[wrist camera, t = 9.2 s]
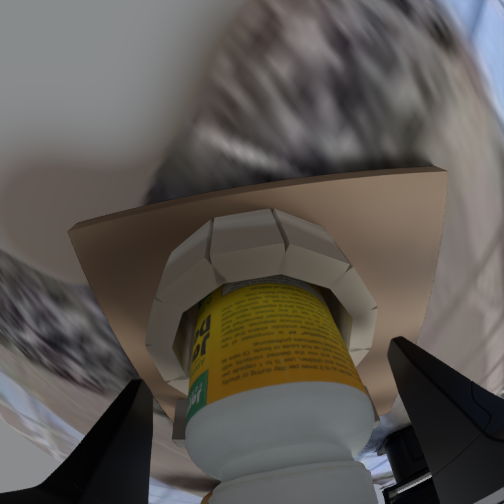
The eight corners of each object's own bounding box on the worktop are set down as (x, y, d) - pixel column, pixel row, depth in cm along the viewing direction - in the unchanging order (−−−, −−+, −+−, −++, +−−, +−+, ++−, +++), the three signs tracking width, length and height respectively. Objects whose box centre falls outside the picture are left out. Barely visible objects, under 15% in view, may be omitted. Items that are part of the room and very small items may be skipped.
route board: (385, 404, 20) (400, 439, 17) (194, 438, 20) (192, 477, 17) (435, 166, 11) (493, 191, 8) (77, 222, 11) (31, 266, 8)
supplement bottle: (311, 341, 14) (366, 519, 5) (205, 348, 14) (202, 541, 5) (323, 245, 12) (449, 470, 3) (190, 252, 11) (148, 523, 3)
